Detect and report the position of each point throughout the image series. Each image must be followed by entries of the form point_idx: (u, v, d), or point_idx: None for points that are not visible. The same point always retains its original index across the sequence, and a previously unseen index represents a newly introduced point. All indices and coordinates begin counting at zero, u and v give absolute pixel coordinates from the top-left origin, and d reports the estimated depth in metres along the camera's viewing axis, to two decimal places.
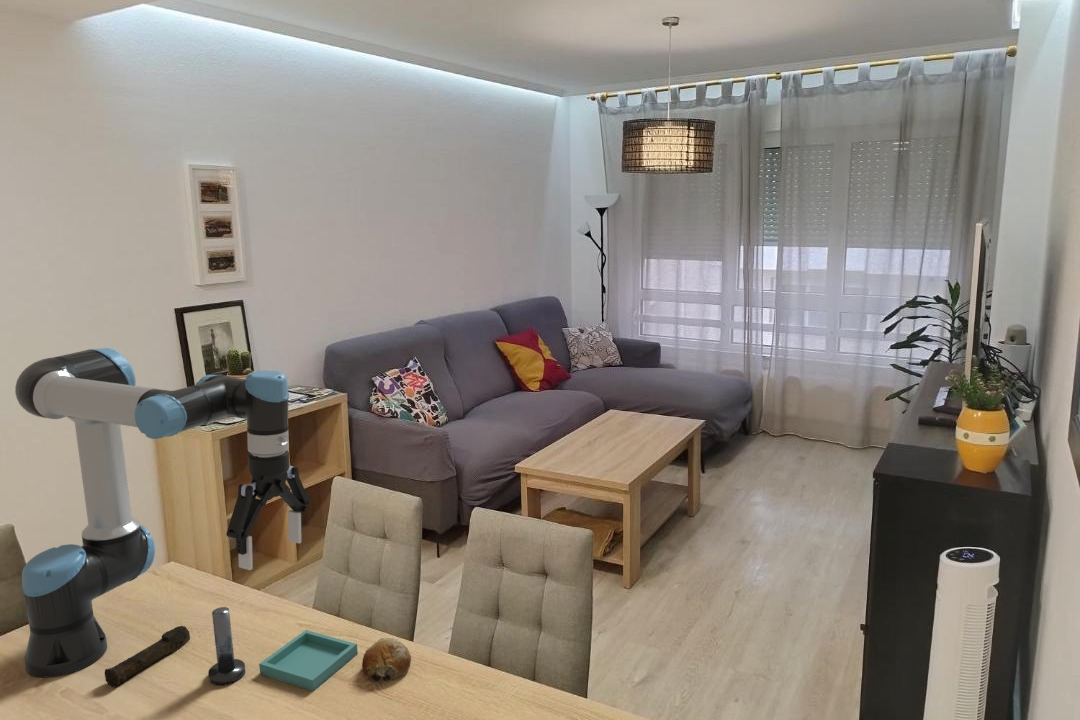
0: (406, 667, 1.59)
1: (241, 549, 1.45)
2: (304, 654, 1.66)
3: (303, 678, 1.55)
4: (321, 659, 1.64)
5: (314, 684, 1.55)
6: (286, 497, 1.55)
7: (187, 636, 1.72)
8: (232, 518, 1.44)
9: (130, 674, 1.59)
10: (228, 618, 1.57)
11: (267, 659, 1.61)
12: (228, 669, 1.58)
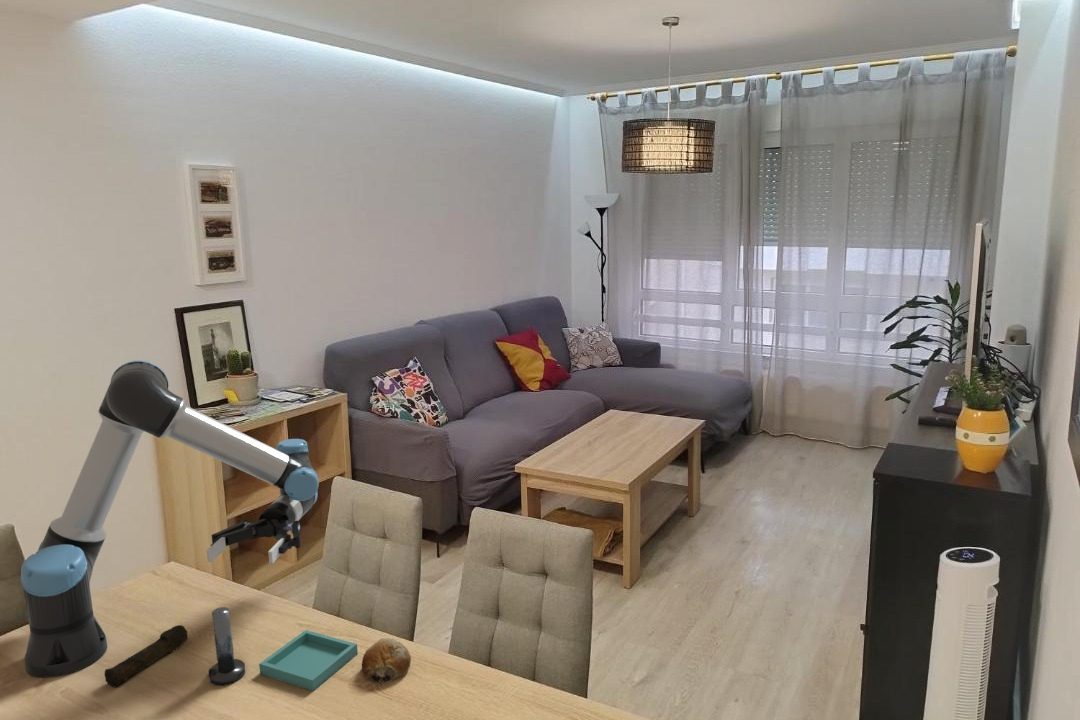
0: (406, 667, 1.59)
1: (286, 550, 1.69)
2: (304, 654, 1.66)
3: (303, 678, 1.55)
4: (321, 659, 1.64)
5: (314, 684, 1.55)
6: (244, 537, 1.76)
7: (185, 635, 1.72)
8: (298, 532, 1.74)
9: (130, 674, 1.59)
10: (228, 618, 1.57)
11: (267, 659, 1.61)
12: (228, 669, 1.58)
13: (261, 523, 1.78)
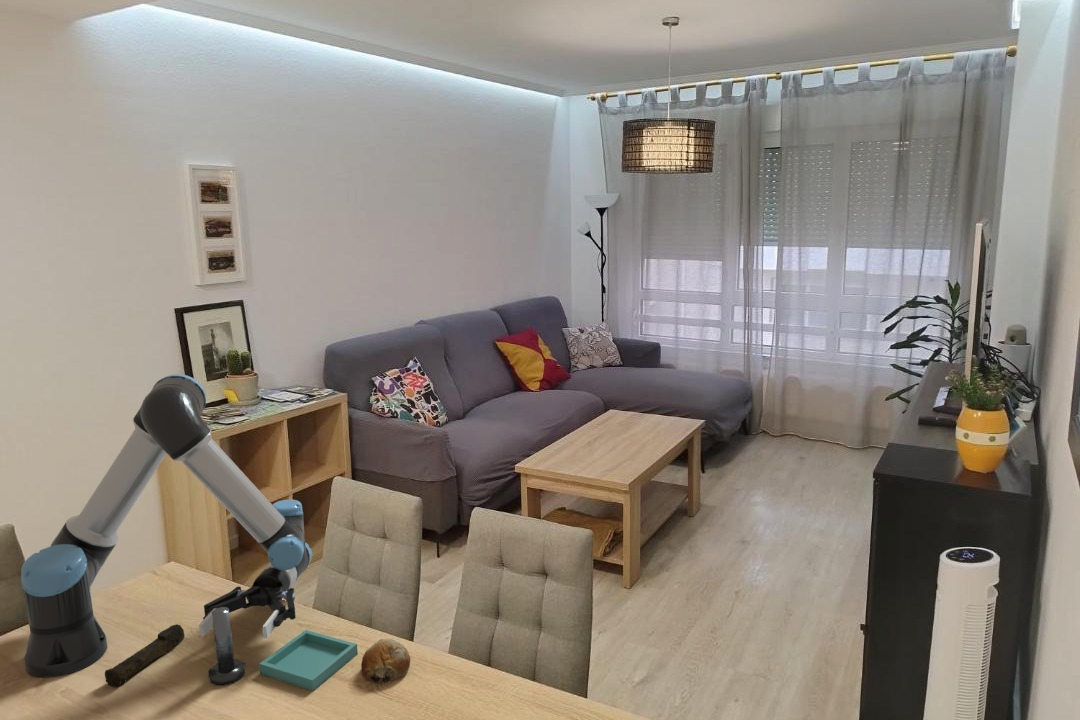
0: (405, 668, 1.59)
1: (280, 623, 1.65)
2: (304, 654, 1.66)
3: (303, 678, 1.55)
4: (321, 659, 1.64)
5: (314, 684, 1.55)
6: (237, 606, 1.72)
7: (182, 634, 1.73)
8: (293, 602, 1.70)
9: (131, 674, 1.59)
10: (228, 618, 1.57)
11: (267, 659, 1.61)
12: (228, 669, 1.58)
13: (255, 591, 1.74)
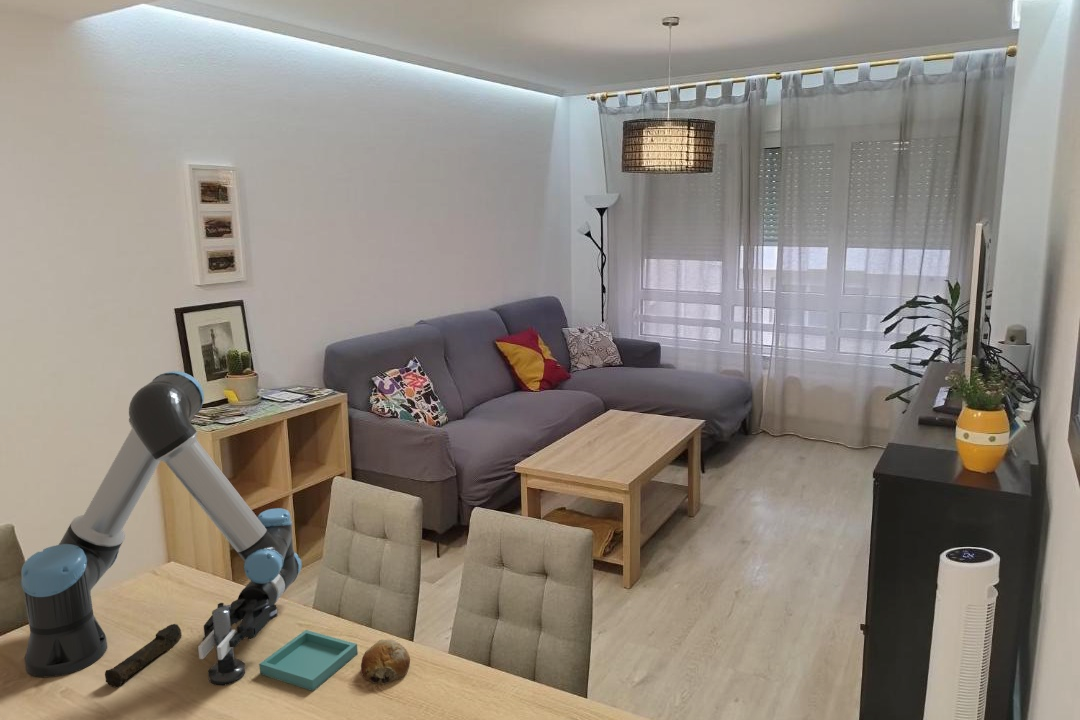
0: (405, 669, 1.59)
1: (237, 643, 1.57)
2: (304, 654, 1.66)
3: (303, 678, 1.55)
4: (321, 659, 1.64)
5: (314, 684, 1.55)
6: (231, 622, 1.65)
7: (179, 634, 1.73)
8: (259, 621, 1.63)
9: (131, 673, 1.59)
10: (228, 618, 1.57)
11: (267, 659, 1.61)
12: (228, 669, 1.58)
13: (242, 604, 1.69)
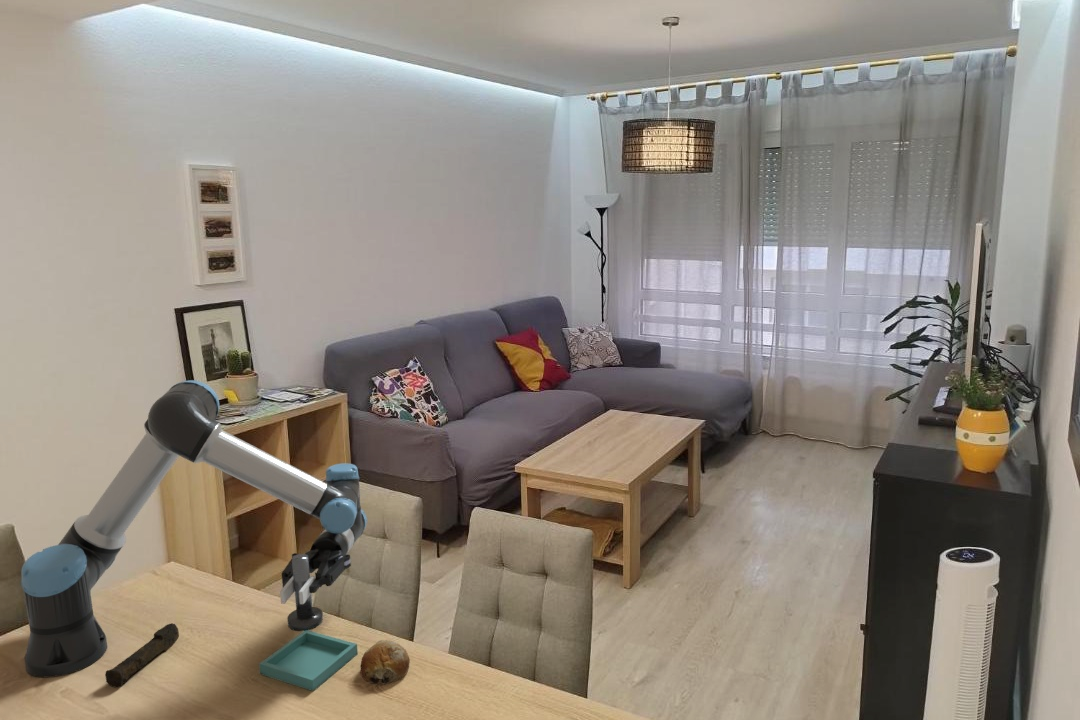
0: (405, 669, 1.58)
1: (316, 589, 1.59)
2: (304, 654, 1.66)
3: (303, 678, 1.55)
4: (321, 659, 1.64)
5: (314, 684, 1.55)
6: None
7: (177, 633, 1.73)
8: (336, 569, 1.64)
9: (131, 673, 1.59)
10: (307, 564, 1.59)
11: (267, 659, 1.61)
12: (307, 615, 1.60)
13: (316, 554, 1.70)
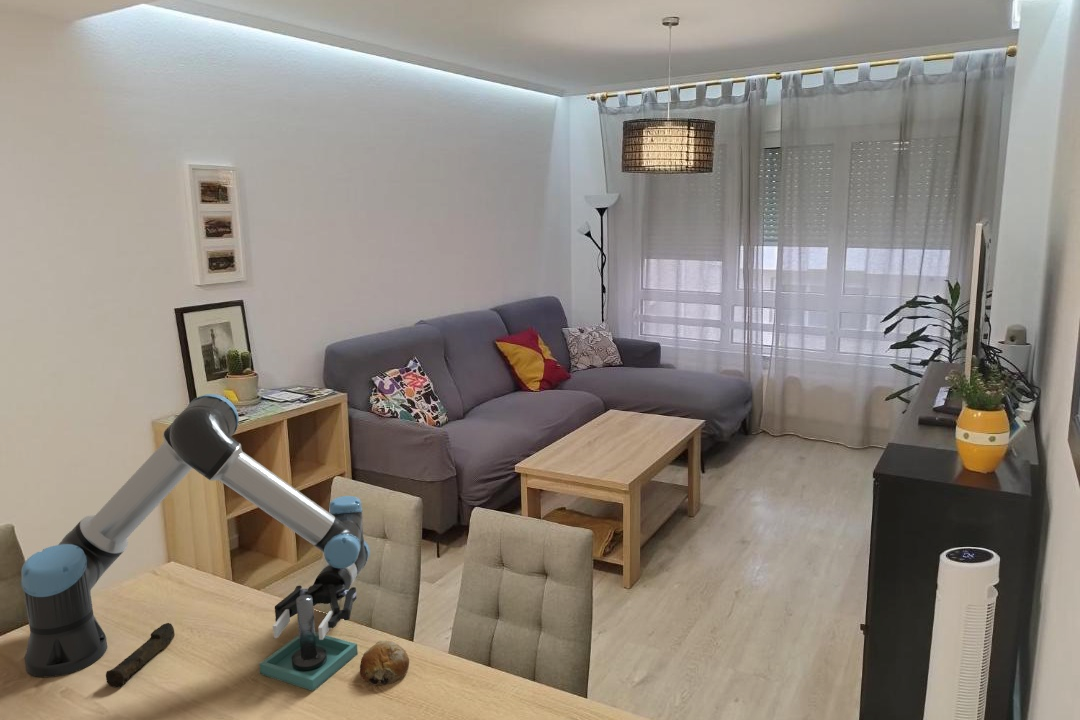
0: (404, 670, 1.58)
1: (335, 624, 1.61)
2: None
3: (303, 678, 1.55)
4: None
5: (314, 684, 1.55)
6: None
7: (173, 633, 1.74)
8: (350, 603, 1.67)
9: (132, 673, 1.59)
10: (312, 605, 1.61)
11: (267, 659, 1.61)
12: (311, 655, 1.62)
13: (319, 589, 1.72)
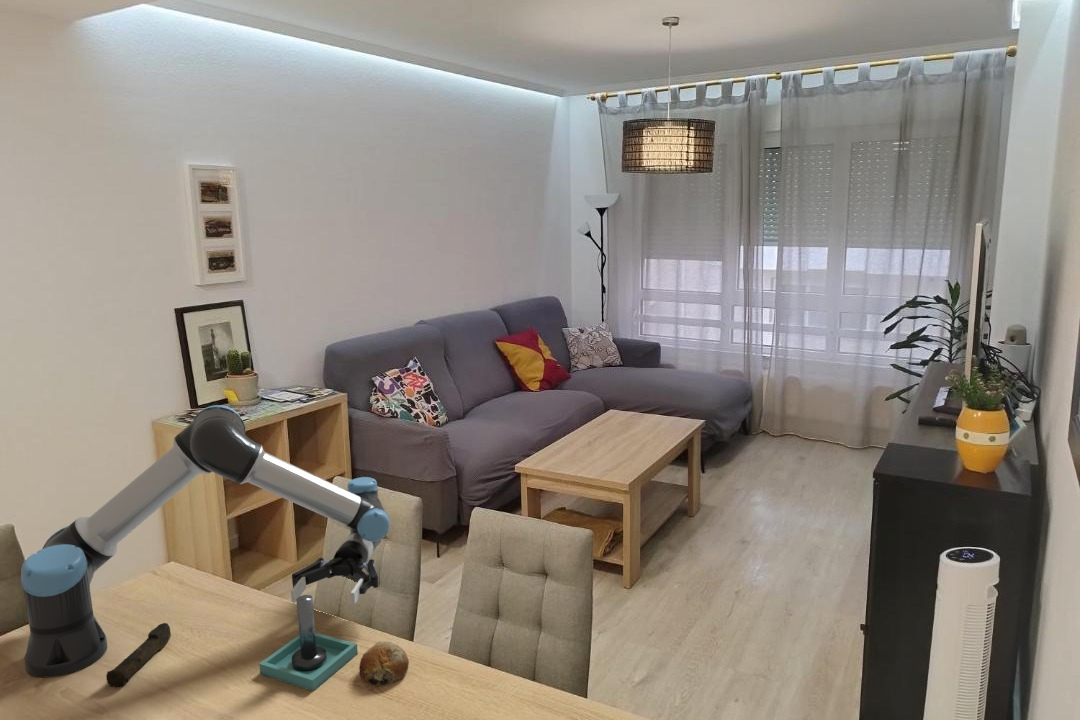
0: (404, 671, 1.58)
1: (365, 590, 1.75)
2: None
3: (303, 678, 1.55)
4: None
5: (314, 684, 1.55)
6: (322, 576, 1.82)
7: (169, 632, 1.74)
8: (375, 572, 1.80)
9: (132, 673, 1.59)
10: (312, 605, 1.61)
11: (267, 659, 1.61)
12: (311, 655, 1.62)
13: (337, 562, 1.84)
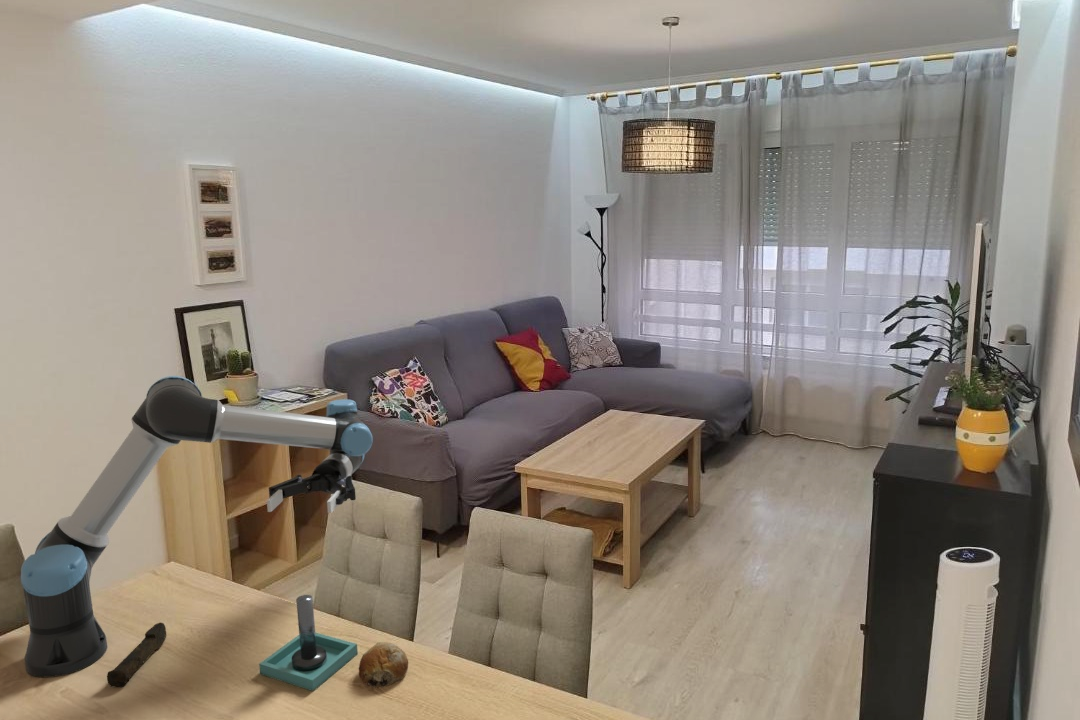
0: (403, 671, 1.58)
1: (342, 502, 1.74)
2: None
3: (303, 678, 1.55)
4: None
5: (314, 684, 1.55)
6: (300, 490, 1.81)
7: (165, 632, 1.74)
8: (353, 486, 1.79)
9: (132, 672, 1.59)
10: (312, 605, 1.61)
11: (267, 659, 1.61)
12: (311, 655, 1.62)
13: (315, 478, 1.83)
